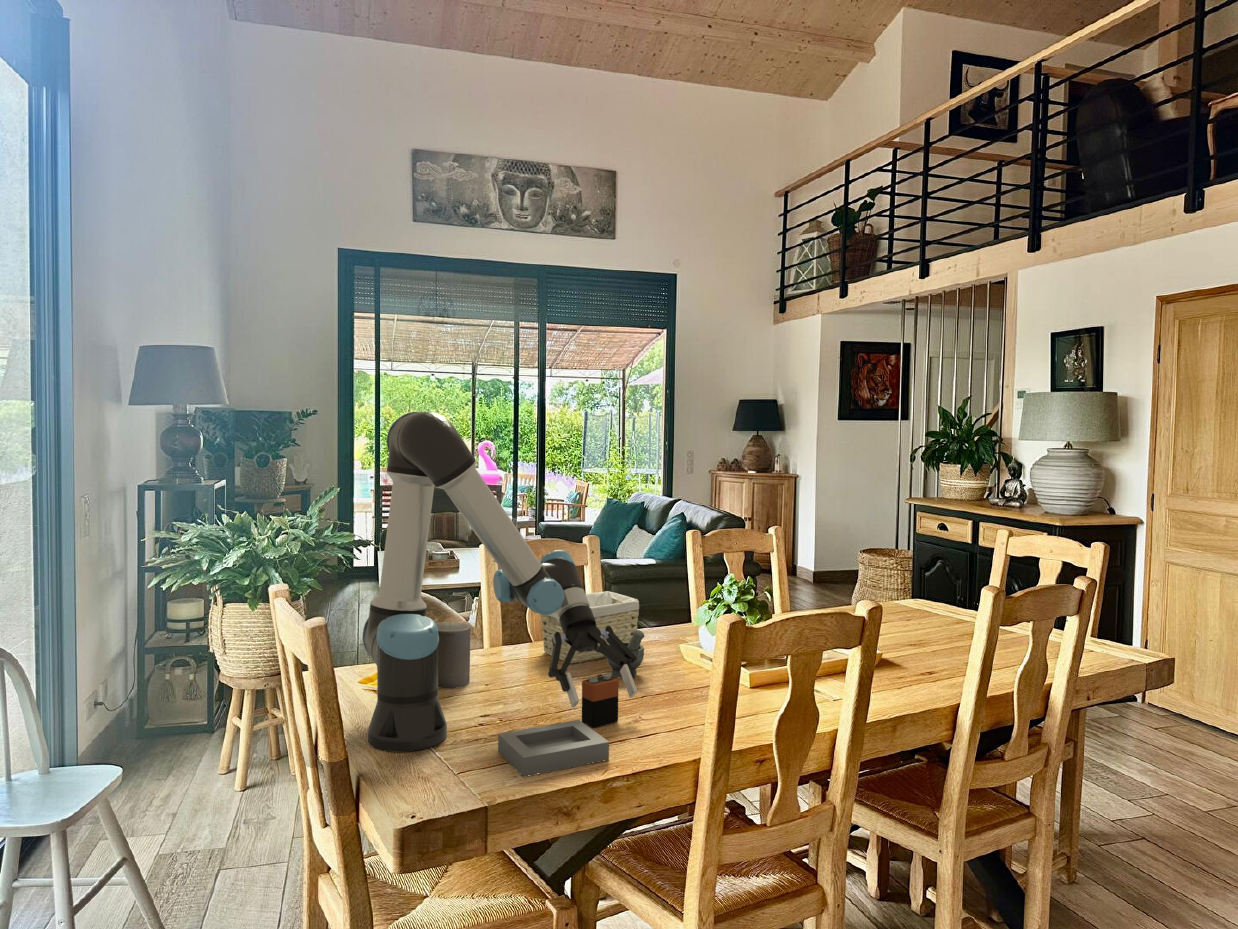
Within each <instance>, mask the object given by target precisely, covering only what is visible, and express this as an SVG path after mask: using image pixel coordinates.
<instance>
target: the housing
mask: <svg viewBox="0 0 1238 929" xmlns="http://www.w3.org/2000/svg"><path fill="white" fill-rule="evenodd" d="M497 738H498V739H497V752H498V753H499V754H500V755H501V756H502V758H504V759H505V760H506V761H507V762H508V764H509V765H511V767H513V768H514V769H515V770H516V771H517V772H518V773H519V774H520V773H521V774H522V775H523V776H527V777H529V776H528V775H532V776H535V775H534V774H537V773H543V774H547V773H551V772H552V771H553V772H556V770H558V771H560V769H563V770H566V769H565V768H568V769H570V768H569V767H573V768H577V766H578V767H581V766H580V765H583V766H585V765H584V764H588V763H592V762H598V761H603V760H608V761H610V740H609V741H608V740H607V739H606V738H605V737H603V736H602V735H601V734H599V733H598V732H596V731H595V730H593V729H592V727H590V726H588V725H586V724H584V723H583V722H582V720H580V719H576V720H570V721H565V722H558V723H554V724H553V723H552V724H548V725H541V726H536V727H528V728H522V729H517V730H511V731H506V732H500V733H497ZM603 762H604V761H603ZM598 763H599V762H598ZM588 765H589V764H588ZM521 774H520V775H521ZM522 775H521V776H522ZM523 776H522V777H523Z"/></svg>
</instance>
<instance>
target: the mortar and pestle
mask: <svg viewBox="0 0 1238 929" xmlns="http://www.w3.org/2000/svg"><path fill="white" fill-rule="evenodd" d="M644 638H645V633H644V632H643V631H642V630H639V629H637V630H635V631H634V632H633V637H632V639H631V640H630V642H629V643H628V642H623V643H624V644H625V645H626V646H627V647H628V649H629V650H630V651H631V652H632V653H633V654H634V655H635V656H636V657H637V659H636V661H635V662H634V664H633V665H632V666H631V667H632V670H633V672H634V675H636V676H638V674H637V668H639V667H640V666H641V664H642V663H643V661H644V654H645V648H644V645H643V644H641V642H642V640H643V639H644ZM605 658H606V661H607V663H608V665H609V666H610V668H612V669H611V674H612V677H615V676H616V677H615V678H618V677H620V678H619V679H623V678H622V676H621V673H620V670H621V667H620V666H618V665H617V664H615V663H614V662H613V661H611V660H610V659H609V658H607V657H605Z"/></svg>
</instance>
